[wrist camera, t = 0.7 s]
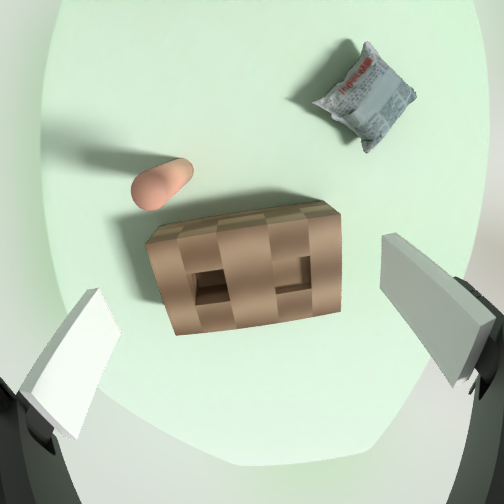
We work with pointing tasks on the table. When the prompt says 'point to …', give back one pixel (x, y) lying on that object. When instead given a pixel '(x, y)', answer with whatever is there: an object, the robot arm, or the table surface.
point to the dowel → (160, 183)
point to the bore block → (249, 267)
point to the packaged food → (368, 98)
